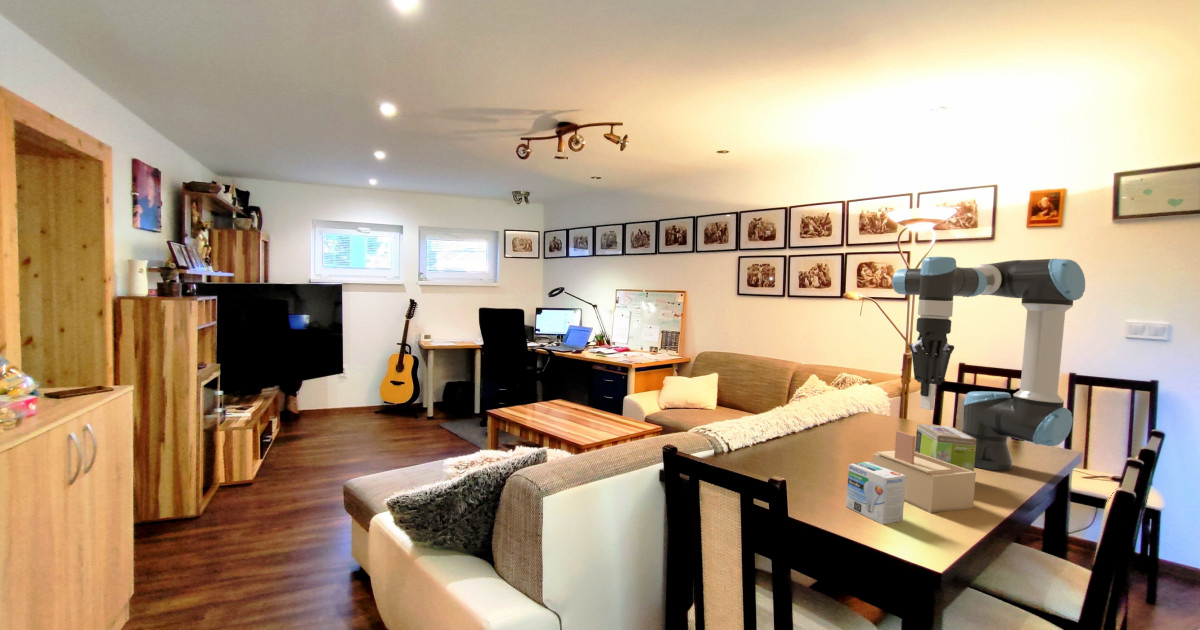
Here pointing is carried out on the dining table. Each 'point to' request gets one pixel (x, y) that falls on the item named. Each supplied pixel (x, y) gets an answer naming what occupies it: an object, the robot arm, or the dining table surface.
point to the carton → (934, 485)
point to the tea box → (946, 445)
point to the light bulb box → (876, 492)
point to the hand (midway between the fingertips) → (926, 408)
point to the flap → (910, 454)
